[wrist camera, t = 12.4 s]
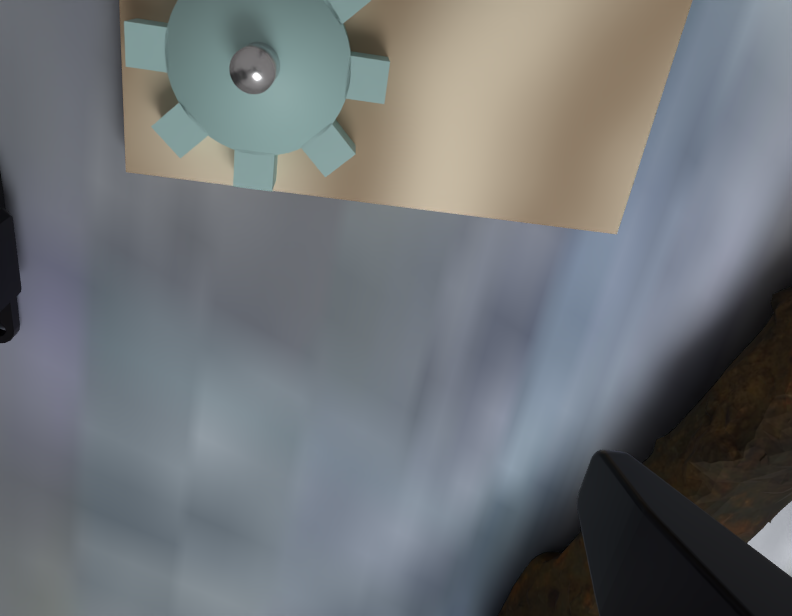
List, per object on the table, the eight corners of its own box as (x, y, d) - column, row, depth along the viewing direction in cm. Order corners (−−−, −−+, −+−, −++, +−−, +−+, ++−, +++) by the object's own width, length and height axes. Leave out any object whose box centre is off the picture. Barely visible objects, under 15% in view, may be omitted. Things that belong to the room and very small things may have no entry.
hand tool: (804, 215, 21) (942, 292, 16) (897, 284, 22) (1051, 374, 17) (420, 627, 29) (432, 761, 24) (505, 659, 31) (532, 792, 26)
